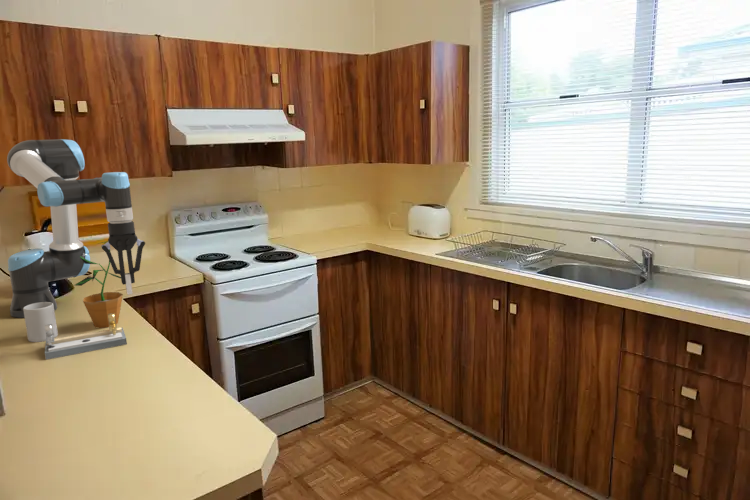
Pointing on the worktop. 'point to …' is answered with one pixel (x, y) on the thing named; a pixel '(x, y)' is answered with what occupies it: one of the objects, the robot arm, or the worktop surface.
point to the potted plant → (101, 300)
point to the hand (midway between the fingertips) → (129, 293)
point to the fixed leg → (49, 334)
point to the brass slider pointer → (112, 323)
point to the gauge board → (85, 343)
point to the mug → (39, 320)
